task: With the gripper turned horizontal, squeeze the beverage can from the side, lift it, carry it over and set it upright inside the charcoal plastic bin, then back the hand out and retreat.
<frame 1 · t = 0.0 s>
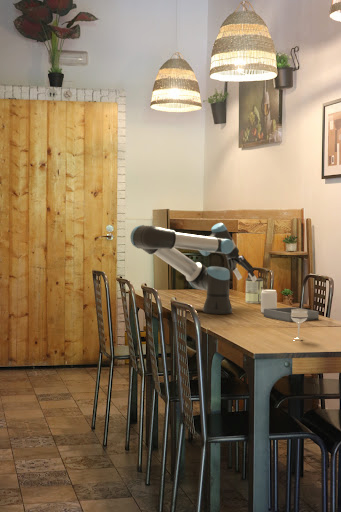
hand: (247, 279, 396), 15 cm above the table, tool tilted 35°, fingers open, 13 cm apart
coffee can: (253, 302, 422), on the table
bin: (290, 318, 354), on the table
beverage can: (268, 313, 372), on the table
wineglass: (298, 340, 288), on the table
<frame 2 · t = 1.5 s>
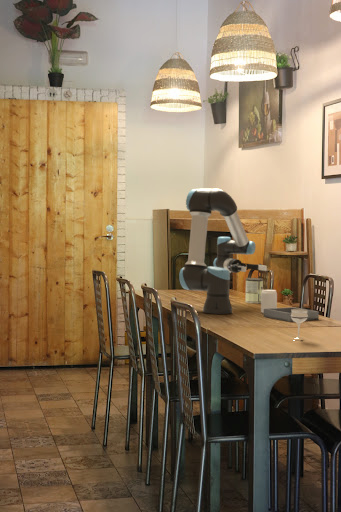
hand: (256, 268, 380), 22 cm above the table, tool horizontal, fingers open, 13 cm apart
nothing on the table moved.
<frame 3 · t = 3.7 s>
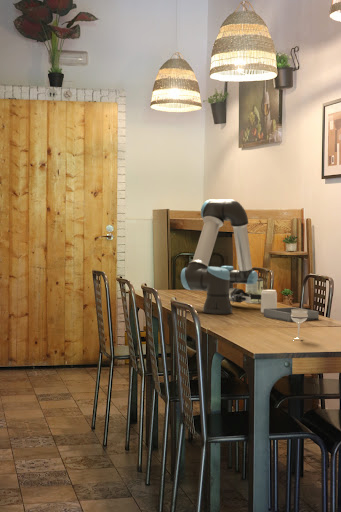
hand: (260, 299, 379), 6 cm above the table, tool horizontal, fingers open, 13 cm apart
nothing on the table moved.
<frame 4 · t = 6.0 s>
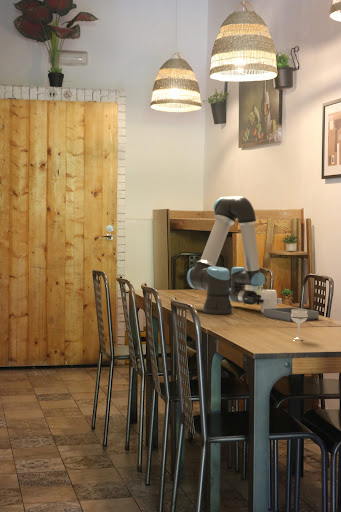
hand: (274, 301, 368), 6 cm above the table, tool horizontal, fingers closed on beverage can, 8 cm apart
beverage can: (268, 313, 372), on the table, touching gripper
everything else where it was.
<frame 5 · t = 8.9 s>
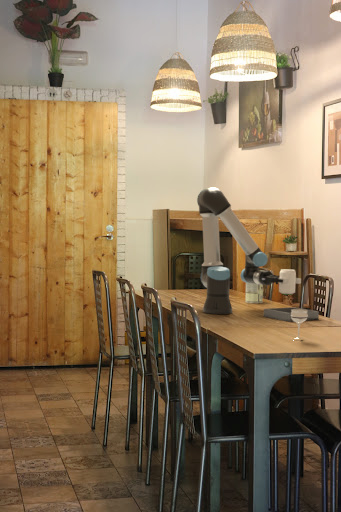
hand: (294, 281, 359), 18 cm above the table, tool horizontal, fingers closed on beverage can, 8 cm apart
beverage can: (286, 293, 363), point 11 cm above the table, touching gripper
everything else where it was.
when the fingers open (9 cm above the table, at t = 11.5 s): beverage can drops 2 cm, resting on bin.
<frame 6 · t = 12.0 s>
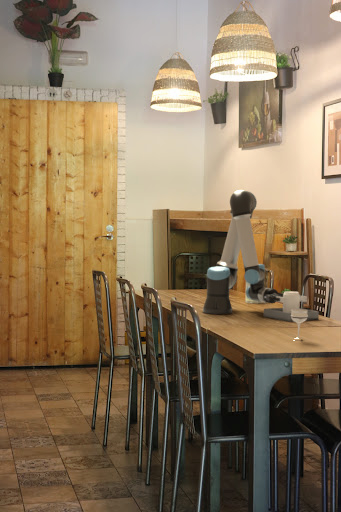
hand: (295, 299, 351), 10 cm above the table, tool horizontal, fingers open, 13 cm apart
beverage can: (290, 316, 354), point 1 cm above the table, touching bin
everything else where it was.
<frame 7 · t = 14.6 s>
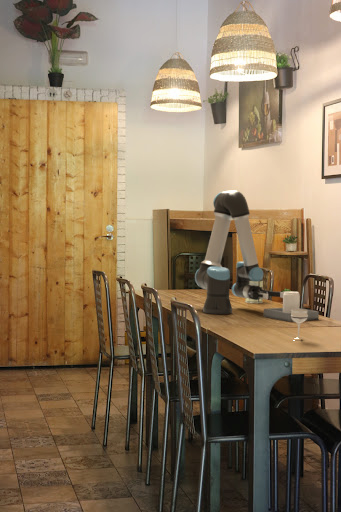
hand: (278, 296, 362), 10 cm above the table, tool horizontal, fingers open, 13 cm apart
nothing on the table moved.
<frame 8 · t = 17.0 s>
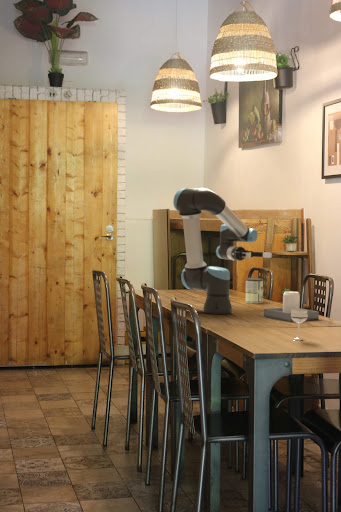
hand: (260, 255, 371), 30 cm above the table, tool horizontal, fingers open, 13 cm apart
nothing on the table moved.
at the end: beverage can inside the target area on the bin (0.0 cm from its centre), point 0.8 cm above the bin's base; beverage can tilted 0°; the gripper is holding nothing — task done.
